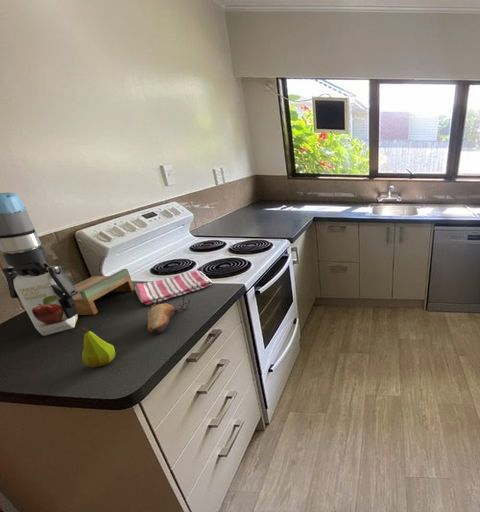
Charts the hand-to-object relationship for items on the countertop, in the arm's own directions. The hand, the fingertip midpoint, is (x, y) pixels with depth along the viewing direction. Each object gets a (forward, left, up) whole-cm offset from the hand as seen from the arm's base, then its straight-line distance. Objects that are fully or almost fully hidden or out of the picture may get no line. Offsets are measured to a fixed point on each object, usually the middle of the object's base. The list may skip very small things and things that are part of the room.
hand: (55, 316), depth 89 cm
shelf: (-3, +16, -4) cm, 17 cm away
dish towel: (+20, +25, -4) cm, 32 cm away
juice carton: (0, 0, -4) cm, 4 cm away
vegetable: (+33, +1, -4) cm, 33 cm away
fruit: (+27, -17, -4) cm, 32 cm away
